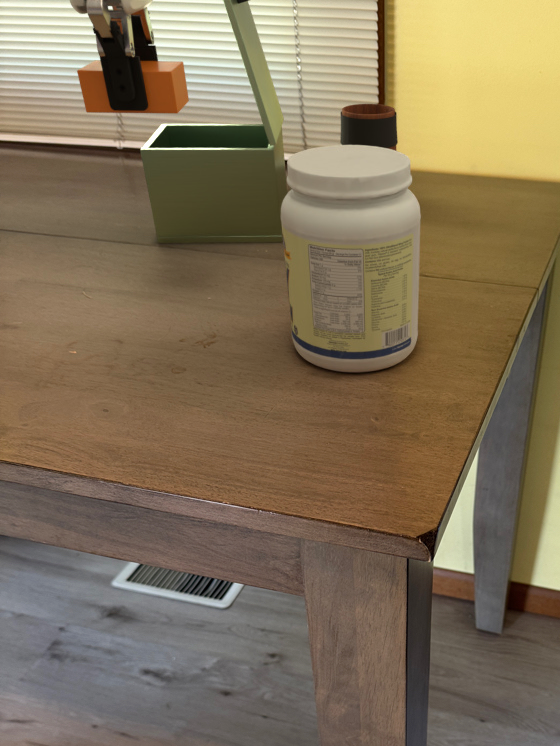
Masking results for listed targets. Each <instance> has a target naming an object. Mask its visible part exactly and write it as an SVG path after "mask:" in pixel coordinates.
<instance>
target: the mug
mask: <svg viewBox="0 0 560 746" xmlns="http://www.w3.org/2000/svg"><path fill="white" fill-rule="evenodd" d="M397 117H398V116H397V112H396V109H395V108H394V107H393V106H390V105H385V104H379V103H357V104H350V105H349V104H348V105H346V106H343V107H342V108H341V111H340V140H339V141H340V143H339V144H340V145H365V146H376V147H382V148H387V149H392V150H395V151H397V145H398V143H399V142H398V126H397V125H398V124H397V123H398V121H397Z"/></svg>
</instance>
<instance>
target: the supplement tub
mask: <svg viewBox="0 0 560 746" xmlns="http://www.w3.org/2000/svg"><path fill="white" fill-rule="evenodd" d="M286 166H287V175H286V183H287V186H288V187H289V188H290V190H289V191H287V195H286V196H285V198H284V200H283V203H282V206H281V222H282V233H283V240H282V244H283V253H284V264H285V273H286V284H287V285H286V286H287V295H288V303H289V305H288V307H289V318H290V326H291V327H290V328H291V340H292V343H293V345H294V348H295V350H296V352H298V354H299V355H300V356H301V358H303V359H304V360H305V361H307V362H309V363H311V364H313V365H314V366H317V367H320V368H322V369H326V370H330V371H335V372H342V373H368V372H374V371H380V370H384V369H388V368H390V367H393V366H395V365H397V364H399V363H401V362H402V361H404V360H405V359H406V358H408V357H409V355H411V353H412V352H413V350H414V349H415V347H416V345H417V341H418V336H419V300H420V299H419V296H420V295H419V294H420V256H421V252H420V251H421V219H422V214H421V206H420V203H419V201H418V198H417V197H416V195H415V194H414V192H413V191H411V189H409V187H410V186H411V185H412V183H413V176H412V174H411V159H410V157H409V156H408V155H407V154H406V153H403V152H400V151H398V150H396V151H395V150H392V149H387V148H382V147H376V146H365V145H342V144H335V145H324V146H317V147H311V148H307V149H303V150H300V151H298V152H295V153H293V154H292V155H290V156H289V157H288V158H287V162H286Z"/></svg>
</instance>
